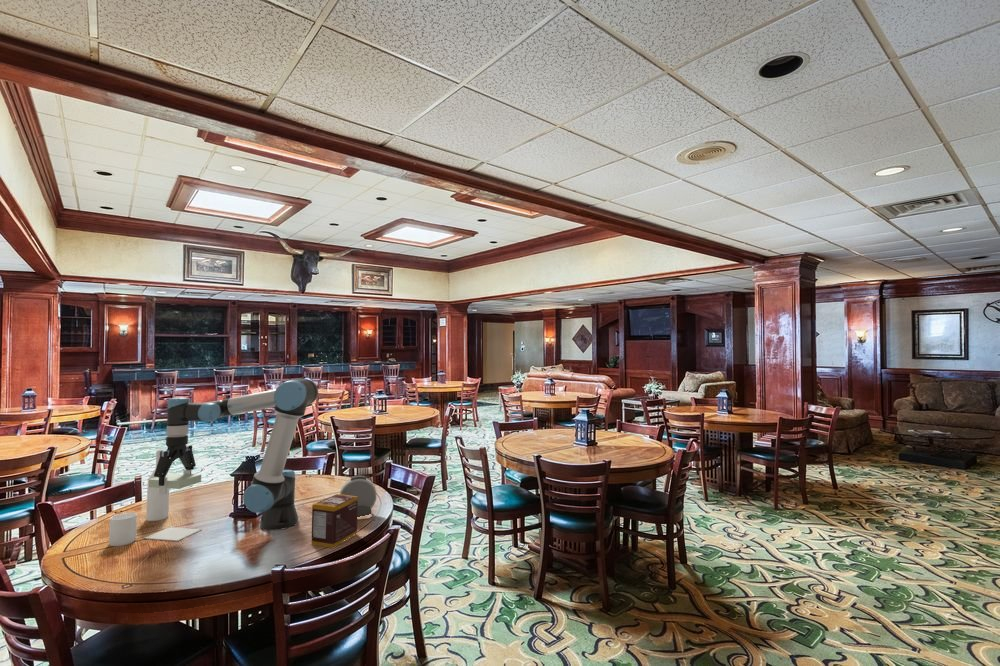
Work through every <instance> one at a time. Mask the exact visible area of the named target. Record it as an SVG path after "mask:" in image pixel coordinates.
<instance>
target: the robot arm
mask: <svg viewBox="0 0 1000 666" xmlns="http://www.w3.org/2000/svg"><path fill="white" fill-rule="evenodd" d="M318 395H319V388H318V385H317V384H316V383H315V382H314V381H312V380H311V379H308V378H300V379H290V380H287V381H284V382H282V383H281V384H279V385H278V386H277V388H276V389H270V390H266V391H265V390H264V391H261V392H255V393H248V394H243V395H240V396H235V397H229V398H224V399H219V400H218V399H217V400H214V401H207V402H191V400H190V398H189V397H185V396H184V397H180V396H179V397H172V398H169V399H168V400H167V408H166V416H167V417H166V418H167V419H166V437H165V445H166V446H167V449H166V450H164V451H161V452H160V458H159V461H158V464H157V468H156V467H155V468H156V471H155V474H154V477H158V478H159V494H167V477H166V475H167V474H169V473H168V472H169V470H170V469H171V466H172V464H173V463H174V462H175V460H177V459H179V460H180V462H181V463H182V465H183V467H184V469H183V472H182V474H192V470H195V469H194V468H195V467H196V466H197V464H196V460H195V457H194V452H193V445H189V444H188V443H189V435H188V434H189V430H190V429H189V427H190V424H189V423H190V422H205V423H207V422H214V421H217V419H219V418H220V419H221V418H227V417H230V416H234V415H240V414H245V413H249V412H251V413H252V412H255V411H261V410H266V409H270V408H271V409H272V408H274V409H273V410H274V412H275V413H276V416H275V420H274V421H273V422H274V423H273V425H272V426H273V427H272V429H271V432H270V436H269V439H268V442H267V446H266V448H265V453H264V456H263V459H262V462H261V465H260V469H259V470H258V471H257V472H255V473H254V475H253V478H252V482H251V484H250V485H249V486H247V487H246V489H245V490H244V492H243V494H242V495H243V496H242V500H243V504H244V505H245V507H246V508H247V510H249V511H250V512H252V513H256V514H260V513H262V514H261V518H260V520H259V528H260V529H262V530H266V531H279V530H283V529H289V528H291V526H292V527H294V526H296V525H297V524H298V523H299V515H298V512H297V508H296V506H295V496H296V494H295V493H296V487H295V486H296V472H295V471H294V470H292V469H285V465H286V462H287V459H288V455H289V453H290V450H291V449H290V448H291V446H292V443H293V439H294V435H295V434H296V433H295V432H296V429H297V425H298V423H299V420H300V418H302V417H304V415H305V413H306V410H307V406H310V405H312V404H313V403H314V402H315V401H316V400H317V398H318ZM158 473H159V474H158ZM295 524H296V525H295Z"/></svg>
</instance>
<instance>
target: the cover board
mask: <svg viewBox="0 0 1000 666" xmlns="http://www.w3.org/2000/svg"><path fill="white" fill-rule="evenodd" d="M166 477H167V488H169V489H173V490H174V489H176V490H180V489H184V488H187V487H189V486H193V485H195V484H199V483H201V482H202V474H201V473H200V474H199V473H198V474H197V473H196V474H195V473H191V474H183V473H176V472H171V473H167V475H166ZM148 479H149V478H148ZM149 487H155V488H159V478H158V477H156V478H153V479H149Z"/></svg>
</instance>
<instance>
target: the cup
mask: <svg viewBox="0 0 1000 666" xmlns="http://www.w3.org/2000/svg"><path fill="white" fill-rule="evenodd" d="M137 521H138V513H136V512H125V513H123V512H122V513H119V514H115V515H112V516H111V517H110V518H109V531H108V533H109V535H108V536H109V537H108V545H109V546H111V547H121V546H126V545H130V544H132V543H134V542H135V541H136V539H137V525H138V523H137Z"/></svg>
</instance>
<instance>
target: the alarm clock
mask: <svg viewBox="0 0 1000 666" xmlns="http://www.w3.org/2000/svg"><path fill="white" fill-rule="evenodd" d="M339 494H342V495H350V496H358V507H357V517H360V516H365V515H369V514H371V513H372V509H373V507H374V506H375V504H376V501H377V496H378V495H377V489H376V486H375V484H374V483H373V481H372V480H370V479H369V478H368V477H366V475H360V474H359V475H354V476H351V477H350V479H348V480H347V481H346V482H344V484H343V485H342V486H341V488H340V491H339ZM372 514H373V513H372Z"/></svg>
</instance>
